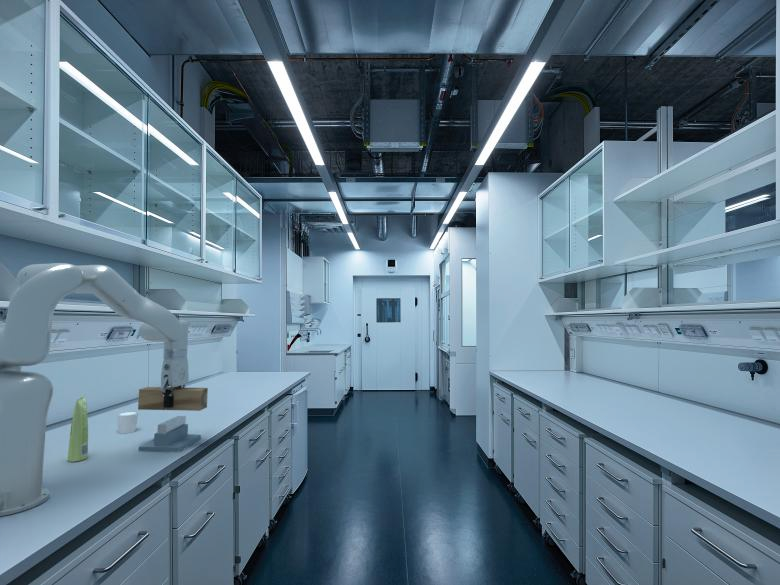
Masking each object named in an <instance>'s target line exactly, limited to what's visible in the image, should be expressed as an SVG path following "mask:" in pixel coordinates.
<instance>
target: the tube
mask: <svg viewBox="0 0 780 585" xmlns="http://www.w3.org/2000/svg"><path fill="white" fill-rule="evenodd" d="M87 406H88V404H87V399H86V395H82V396H81V397H78V398H77V399H76V402H75V405H74V409H73V412H72V414H73V415H72V418H71V425H70V431H69V432H70V434H69V440H68V441H69V442H68V451H67V452H68V453H67V461H68V462H71V463H75V462H80V461H83V460H86V459H87V458H88V457H89V455H88V454H89V422H88V420H89V419H88V407H87Z"/></svg>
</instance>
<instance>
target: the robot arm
mask: <svg viewBox="0 0 780 585" xmlns="http://www.w3.org/2000/svg"><path fill="white" fill-rule="evenodd" d="M15 280H16V284H17V286H18V289H17V290H16V291H15V293H13V295H12V297H11V299H10V301H9V304H8V307H7V311H6V317H5V322H4V327H0V517H1V516H2V517H4V516H7V515H13V514H17V513H20V512H24V511H27V510H29V509H32V508H35V507H37V506H39V505H41V504H43V503H44V502H46V501H47V500H48V499H49V497H50V493H51V492H50V490H49V489H47V488H43V478H44V476H43V475H44V474H43V473H44V460H45V449H46V448H45V443H46V431H47V428H46V427H47V420H48V413H49V410H50V406H51V402H52V399H53V394H54V386H53V383H52V381H51V380H50V378H48V377H47V376H45V375H44V374H41V373H38V372H34V371H24V370H22V367H31V366H36V365H39V364H40V363H43V362H44V361H45V360H46V359H47V358H48V356H49V354H50V351H51V350H50V349H51V340H52V327H53V318H54V313H55V310H56V308H57V306H58V304H59V303H60V302H61V301H62V300H63V299H64V298H65V297H66V296H68V295H75V294H76V295H77V294H79V295H80V294H92V295H94V296H95V297H96V298H98V299H99V301H101V302H102V303H104V304H105V305H106V306H107V307H109V308H110V309H111V311H113V312H114V313H116V314H117V315H118V316H121V317H124V318H127V319H130V320H133V321H137V322H141V324H140V326H139V328H138V334H139V336H140V338H141V339H143V340H145V341H147V342H163V355H162V356H163V357H162V358H163V362H162V365H161V373H160V374H161V375H160V376H161V377H160V386H159V387H160V390H161V391H162V393H163V396H164V404H163V407H164V408H172V407H173V401H174V396H172V395H173V390H174V388H175V387H186V385H187V384H188V382H189V361H188V340H189V322H188V321H187V320H183V319H179V318H177V317H176V315H174V313H172V312H171V310H169V309H167V307H164V306H163V305H161V304H159V303H157V302H155V301H153V300H151V299H150V298H147V297H145V296H143V295H141V294H140V293H139V292H138V291H137V290H136V289H135V288H134V287H133V286H132V285H131V284H129V283H128V282H127V281H126V280H125V279H124V278H123V277H122V276H121V275H120V274H119V273H118V272H117V271H116V270H115V269H113V268H112V267H110V266H108V265H106V264H105V265H103V264H88V265H87V264H86V265H75V264H71V263H67V262H66V263H65V262H63V263H62V262H55V263H52V262H51V263H35V264H29V265H27V266H24V267H23V268H22V269H20V270H19V271H18V273H17V275H16V278H15ZM168 389H170V391H169V390H168Z"/></svg>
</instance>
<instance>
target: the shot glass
mask: <svg viewBox="0 0 780 585" xmlns="http://www.w3.org/2000/svg"><path fill="white" fill-rule="evenodd" d="M138 417H139V412H138V411H127V412H120V413H118V414H117V417H116V418H117V433H118V434H119V435H120V434H121V435H123V434H126V435H127V434H132V433H135V432H136V431H137V425H138V424H137V423H138Z"/></svg>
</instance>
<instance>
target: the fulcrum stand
mask: <svg viewBox="0 0 780 585" xmlns="http://www.w3.org/2000/svg"><path fill="white" fill-rule="evenodd" d="M186 419H187V415H177V416H175V417H174V416H173V417H172V418H170V419H167V420H165V421H164V422H160V423H159V424H157V428H156V430H157V431H156V432H155V433H154V436H153V439H151V440H150V441H147V442H145V443H143V444H141V445H139V446H138V452H160V453H161V452H165V453H166V452H167V453H168V452H169V453H171V452H170V451H180V452H181V450H182V451H183V450H185V449H186V447H187V446H188V447H190V446H191V445H193V444H194V442H195V443H196V442H198V441H199V439H200V438H201V439H202V434H194V433H193V434H192V433H191V434H189V433H188V432H189V423H186ZM201 439H200V440H201ZM197 440H198V441H197ZM192 443H193V444H192ZM189 445H190V446H189ZM188 447H187V448H188ZM184 448H185V449H184Z"/></svg>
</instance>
